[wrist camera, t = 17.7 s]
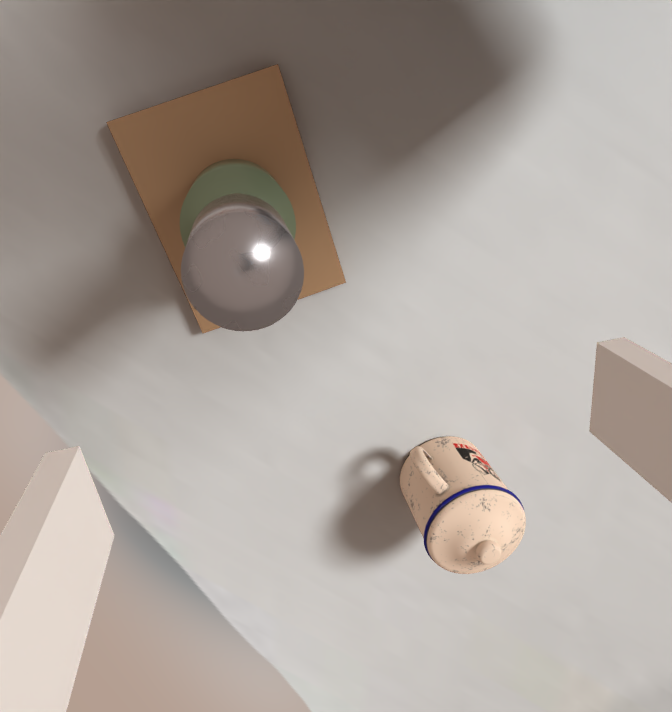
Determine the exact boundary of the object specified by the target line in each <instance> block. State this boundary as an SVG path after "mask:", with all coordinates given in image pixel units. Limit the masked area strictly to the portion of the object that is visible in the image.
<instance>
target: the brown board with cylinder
mask: <svg viewBox="0 0 672 712" xmlns="http://www.w3.org/2000/svg"><path fill="white" fill-rule="evenodd" d="M106 123H107V125H108V127H109V129H110V131H111V134H112V136H113V138H114V140H115V142H116V145H117V147H118V149H119V151H120V153H121V155H122V158H123V160H124V162H125V164H126V166H127V169H128V171H129V173H130V175H131V177H132V180H133V182H134V184H135V186H136V188H137V190H138V193H139V195H140V197H141V199H142V201H143V204H144V206H145V208H146V210H147V212H148V215H149V217H150V219H151V221H152V223H153V225H154V228H155V230H156V232H157V234H158V236H159V239H160V241H161V243H162V245H163V247H164V249H165V252H166V254H167V256H168V258H169V260H170V263H171V265H172V267H173V269H174V271H175V274H176V276H177V278H178V280H179V282H180V284H181V287H182V289H183V291H184V288H183V284H182V279H181V262H182V257H183V253H184V250H185V247H186V244H187V241H188V238H189V235H190V232H191V229H192V226H193V224H194V221H195V219H196V217H197V216H198V214H199V213H200V212H201V211H202V209H203V208H204V207H205V206H207V205H208V204H209V203H210V202H212V201H214V200H215V199H218V198H220V197H222V196H226V195H231V194H246V195H251V196H255V197H257V198H260V199H262V200H264V201H265V202H267V203H268V204H270V205H271V206H272V207H273V208H274V209H275V210H276V211H277V212H278V213H279V214H280V215H281V217H282V219H283V220H284V222H285V224H286V226H287V227H288V229H289V231H290V233H291V235H292V237H293V239H294V240H295V242H296V244H297V246H298V248H299V251H300V253H301V256H302V260H303V265H304V280H303V286H302V290H301V293H300V295H299V297H298V299H301V298H304V297H307V296H309V295H312V294H315V293H318V292H321V291H323V290H326V289H329V288H332V287H335V286H337V285H340V284H343V283H346V281H345V278H344V275H343V271H342V268H341V265H340V262H339V259H338V255H337V252H336V249H335V246H334V242H333V239H332V236H331V233H330V230H329V226H328V223H327V220H326V217H325V214H324V210H323V207H322V204H321V201H320V198H319V194H318V191H317V188H316V185H315V181H314V178H313V175H312V172H311V169H310V165H309V162H308V159H307V156H306V153H305V149H304V146H303V143H302V140H301V136H300V133H299V130H298V127H297V124H296V120H295V117H294V114H293V111H292V108H291V104H290V101H289V98H288V95H287V92H286V88H285V85H284V82H283V79H282V75H281V72H280V69H279V66H278V64H277V65H274V66H271V67H268V68H265V69H262V70H259V71H256V72H253V73H250V74H247V75H244V76H241V77H238V78H235V79H232V80H229V81H226V82H224V83H221V84H218V85H215V86H212V87H209V88H206V89H203V90H200V91H197V92H194V93H191V94H188V95H185V96H182V97H179V98H176V99H173V100H170V101H168V102H165V103H162V104H159V105H156V106H153V107H150V108H147V109H144V110H141V111H138V112H135V113H132V114H129V115H126V116H123V117H120V118H117V119H115V120H112V121H109V122H106ZM184 293H185V291H184ZM185 295H186V293H185ZM186 298H187V300H188V302H189V304H190V306H191V309H192V311H193V313H194V315H195V317H196V319H197V322H198V324H199V326H200V328H201V330H202V333H206V332H209V331H211V330H214V329H217V328H220V326H218V325H215V324H213V323H212V322H210V321H208V320H207V319H206V318H204V317H203V316H202V315H201V314H200V313H199V312H198V311H197V310H196V309H195V308H194V307H193V305H192V304H191V303H190V301H189V299H188V297H187V296H186ZM298 299H297V300H298Z"/></svg>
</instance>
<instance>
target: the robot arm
mask: <svg viewBox="0 0 672 712" xmlns="http://www.w3.org/2000/svg"><path fill="white" fill-rule="evenodd" d="M590 432H591V433H592V434H593V435H594V436H595V437H597V438H598V439H599V440H600V441H601V442H602V443H603V444H605V445H606V446H607V447H608V448H609V449H610V450H612V451H613V452H614V453H615V454H616V455H617V456H618V457H620V458H621V459H622V460H623V461H624V462H625V463H627V464H628V465H629V466H630V467H631V468H632V469H633V470H635V471H636V472H637V473H638V474H639V475H640V476H642V477H643V478H644V479H645V480H646V481H647V482H648V483H650V484H651V485H652V486H653V487H654V488H655V489H657V490H658V491H659V492H660V493H661V494H662V495H663V496H665V497H666V498H667V499H668V500H669V501H670V502H672V363H670V362H668V361H666V360H664V359H663V358H661V357H659V356H657V355H655V354H654V353H652V352H650V351H648V350H646V349H645V348H643V347H641V346H639V345H637V344H635V343H634V342H632V341H630V340H628V339H626V338H625V337H622V338H617V339H612V340H607V341H602V342H597V349H596V361H595V372H594V384H593V396H592V407H591V419H590ZM113 538H114V533H113V531H112V528H111V526H110V523H109V521H108V518H107V516H106V513H105V511H104V508H103V505H102V503H101V500H100V498H99V495H98V492H97V490H96V487H95V485H94V482H93V480H92V477H91V474H90V472H89V469H88V467H87V464H86V462H85V459H84V456H83V454H82V451H81V449H80V446H77V447H72V448H67V449H62V450H57V451H51V452H46V453H45V454H44V456H43V458H42V460H41V462H40V464H39V465H38V467H37V469H36V471H35V473H34V475H33V476H32V478H31V480H30V482H29V484H28V485H27V487H26V489H25V491H24V493H23V495H22V496H21V498H20V500H19V502H18V504H17V505H16V507H15V509H14V511H13V513H12V515H11V517H10V518H9V520H8V522H7V524H6V526H5V527H4V529H3V531H2V533H1V535H0V712H66V710H67V706H68V703H69V699H70V695H71V691H72V688H73V684H74V680H75V677H76V673H77V670H78V666H79V662H80V659H81V655H82V651H83V648H84V644H85V640H86V637H87V633H88V630H89V626H90V622H91V618H92V615H93V611H94V608H95V604H96V601H97V597H98V593H99V590H100V586H101V582H102V578H103V575H104V571H105V567H106V564H107V560H108V557H109V553H110V549H111V546H112V542H113Z"/></svg>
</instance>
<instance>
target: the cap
mask: <svg viewBox="0 0 672 712" xmlns="http://www.w3.org/2000/svg"><path fill="white" fill-rule="evenodd" d="M181 279H182V284H183V288H184V291H185V293H186V296H187V297H188V299H189V301H190V303H191V304H192V305H193V307H194V308H195V309H196V310H197V311H198V312H199V313H200V314H201V315H202V316H203V317H204V318H206V319H207V320H208V321H210V322H212V323H213V324H215V325H218V326H220V327H223V328H226V329H230V330H235V331H252V330H258V329H261V328H265V327H267V326H270V325H272V324H274V323H275V322H277V321H279V320H280V319H281V318H283V317H284V316H285V315H286V314H287V313H288V312H289V311H290V310H291V308H292V307H293V306H294V305H295V303H296V301H297V299H298V297H299V295H300V293H301V290H302V286H303V280H304V265H303V260H302V256H301V253H300V251H299V248H298V246H297V244H296V242H295V240H294V239H293V237H292V235H291V233H290V231H289V229H288V227H287V226H286V224H285V222H284V220H283V219H282V217H281V215H280V214H279V213H278V212H277V211H276V210H275V209H274V208H273V207H272V206H271V205H270V204H268V203H267V202H265V201H264V200H262V199H260V198H257V197H255V196H251V195H246V194H231V195H226V196H222V197H220V198H218V199H215V200H214V201H212V202H210V203H209V204H208V205H207V206H205V207H204V208H203V209H202V211H201V212H200V213H199V214H198V216H197V217H196V219H195V221H194V224H193V226H192V229H191V232H190V235H189V238H188V241H187V244H186V247H185V250H184V253H183V257H182V262H181Z"/></svg>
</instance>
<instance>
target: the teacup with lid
mask: <svg viewBox="0 0 672 712" xmlns="http://www.w3.org/2000/svg"><path fill="white" fill-rule="evenodd" d="M400 487H401V490H402V493H403V495H404V497H405V499H406V502H407V504H408V506H409V508H410V510H411V512H412V514H413V517H414V519H415V521H416V523H417V525H418V527H419V530H420V532H421V534H422V536H423V538H424V545H425V549H426V551H427V553H428V555H429V556H430V558H431V559H432V560H433V561H434V562H435V563H436V564H437V565H439V566H440V567H442V568H444V569H445V570H448V571H450V572H454V573H460V574H470V573H477V572H481V571H484V570H487V569H490V568H492V567H494V566H496V565H498V564H499V563H501V562H502V561H504V560H505V559H506V558H507V557H508V556H510V555H511V554H512V552H513V551H514V550H515V549H516V548H517V546H518V545H519V543H520V541H521V539H522V537H523V534H524V531H525V524H526V518H525V513H524V508H523V506H522V504H521V502H520V500H519V499H518V498H517V496H516V495H515V494H513V493H512V492H511V491H509V490H508V489H507V488H506V486H505V485H504V484H503V482H502V481H501V480H500V478H499V477H498V476H497V474H496V473H495V472H494V470H493V469H492V468H491V466H490V465H489V464H488V462H487V461H486V460H485V458H484V457H483V456H482V454H481V453H480V452H479V450H478V449H477V448H476V447H475V446H474V445H473V444H472V443H470V442H469V441H467V440H465V439H462V438H459V437H451V436H447V437H439V438H435V439H432V440H430V441H428V442H425V443H424V444H422V445H420V446H417V447H415V448H414V449H412V450H411V451H410V455H409V457H408V458H407V459H406V461H405V463H404V465H403V467H402V470H401V473H400Z"/></svg>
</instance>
